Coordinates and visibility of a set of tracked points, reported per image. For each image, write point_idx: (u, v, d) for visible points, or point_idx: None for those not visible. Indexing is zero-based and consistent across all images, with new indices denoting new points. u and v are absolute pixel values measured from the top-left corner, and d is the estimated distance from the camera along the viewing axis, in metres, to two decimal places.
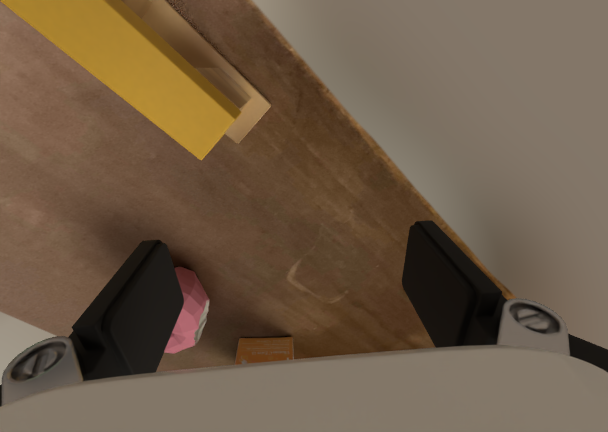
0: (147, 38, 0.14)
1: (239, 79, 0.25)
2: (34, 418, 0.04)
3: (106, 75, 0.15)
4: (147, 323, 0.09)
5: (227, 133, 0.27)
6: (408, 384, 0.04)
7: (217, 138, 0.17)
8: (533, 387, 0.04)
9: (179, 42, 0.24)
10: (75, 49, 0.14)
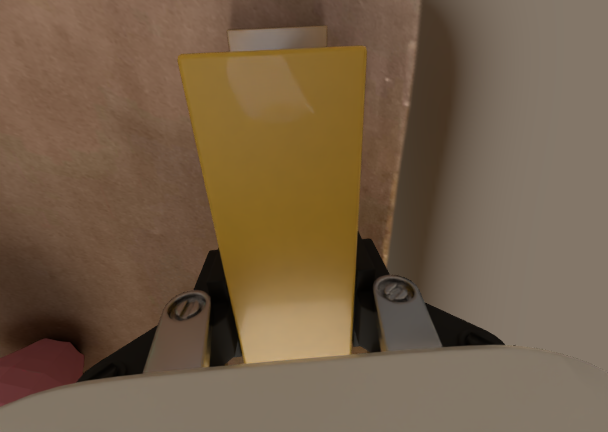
0: None
1: None
2: (34, 419, 0.04)
3: (257, 350, 0.09)
4: None
5: None
6: (408, 384, 0.04)
7: None
8: (533, 387, 0.04)
9: None
10: (251, 310, 0.08)
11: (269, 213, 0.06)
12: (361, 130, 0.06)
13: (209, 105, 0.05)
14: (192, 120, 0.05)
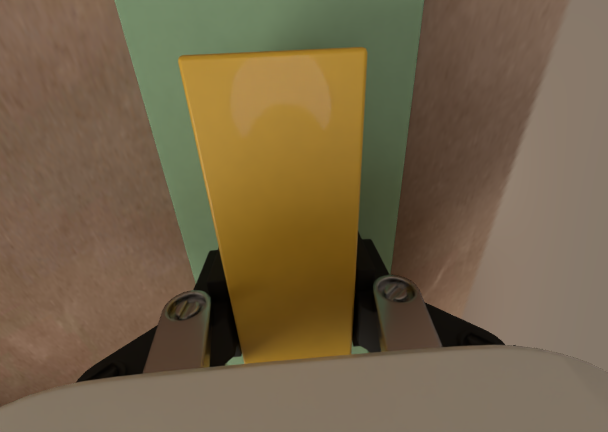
0: None
1: None
2: (35, 419, 0.04)
3: (257, 351, 0.09)
4: None
5: None
6: (408, 384, 0.04)
7: None
8: (533, 387, 0.04)
9: None
10: (251, 311, 0.08)
11: (269, 214, 0.06)
12: (361, 131, 0.06)
13: (209, 106, 0.05)
14: (192, 121, 0.05)
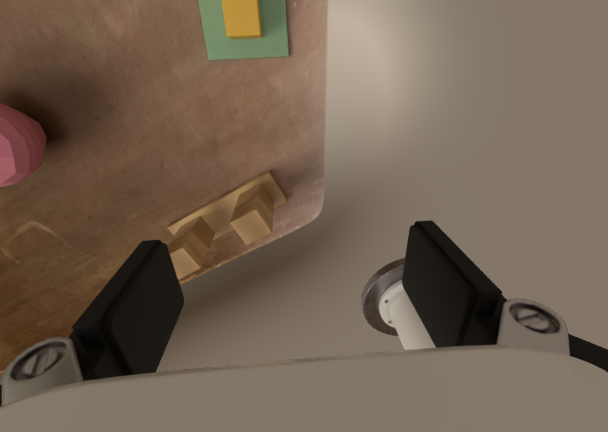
0: None
1: None
2: (34, 419, 0.04)
3: None
4: (147, 323, 0.09)
5: (175, 224, 0.40)
6: (408, 384, 0.04)
7: (244, 34, 0.28)
8: (533, 387, 0.04)
9: None
10: None
11: None
12: None
13: None
14: None
